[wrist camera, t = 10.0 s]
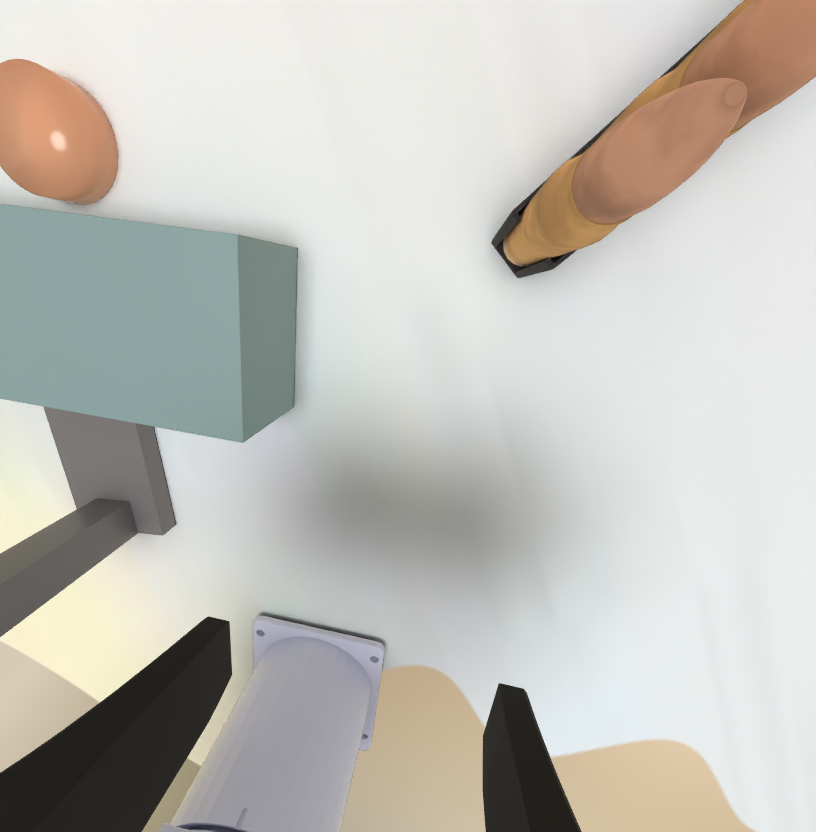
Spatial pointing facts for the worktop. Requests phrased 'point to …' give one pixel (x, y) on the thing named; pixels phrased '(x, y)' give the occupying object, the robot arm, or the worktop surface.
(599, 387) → the worktop surface
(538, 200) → the ammunition clip
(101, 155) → the orange rounded disc
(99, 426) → the scraper
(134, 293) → the grey-green bridge-shaped bar
